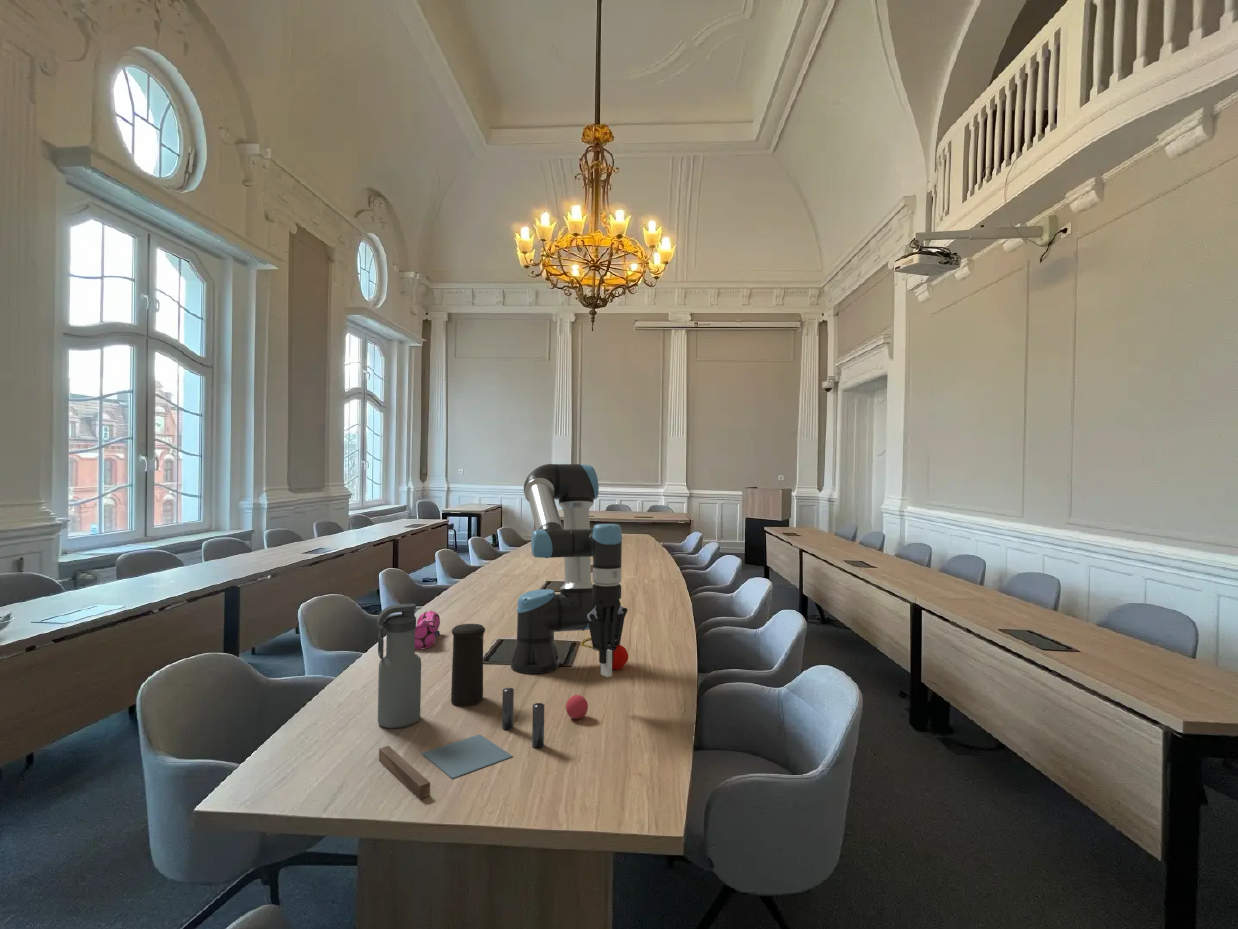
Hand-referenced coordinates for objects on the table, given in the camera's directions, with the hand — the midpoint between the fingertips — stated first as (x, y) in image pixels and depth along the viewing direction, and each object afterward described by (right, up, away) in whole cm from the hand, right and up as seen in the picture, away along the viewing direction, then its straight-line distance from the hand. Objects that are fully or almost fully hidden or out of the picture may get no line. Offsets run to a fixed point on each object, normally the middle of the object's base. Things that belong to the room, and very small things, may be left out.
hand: (606, 675), depth 154 cm
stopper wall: (-40, -8, -36) cm, 54 cm away
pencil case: (-66, -9, +59) cm, 89 cm away
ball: (-7, -6, -6) cm, 11 cm away
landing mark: (-29, -8, -26) cm, 40 cm away
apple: (+2, -10, +32) cm, 34 cm away
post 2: (-15, -8, -22) cm, 27 cm away
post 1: (-23, -8, -12) cm, 28 cm away
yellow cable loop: (-4, -11, +57) cm, 58 cm away
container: (-37, -9, +4) cm, 38 cm away
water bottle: (-51, -8, -9) cm, 52 cm away
